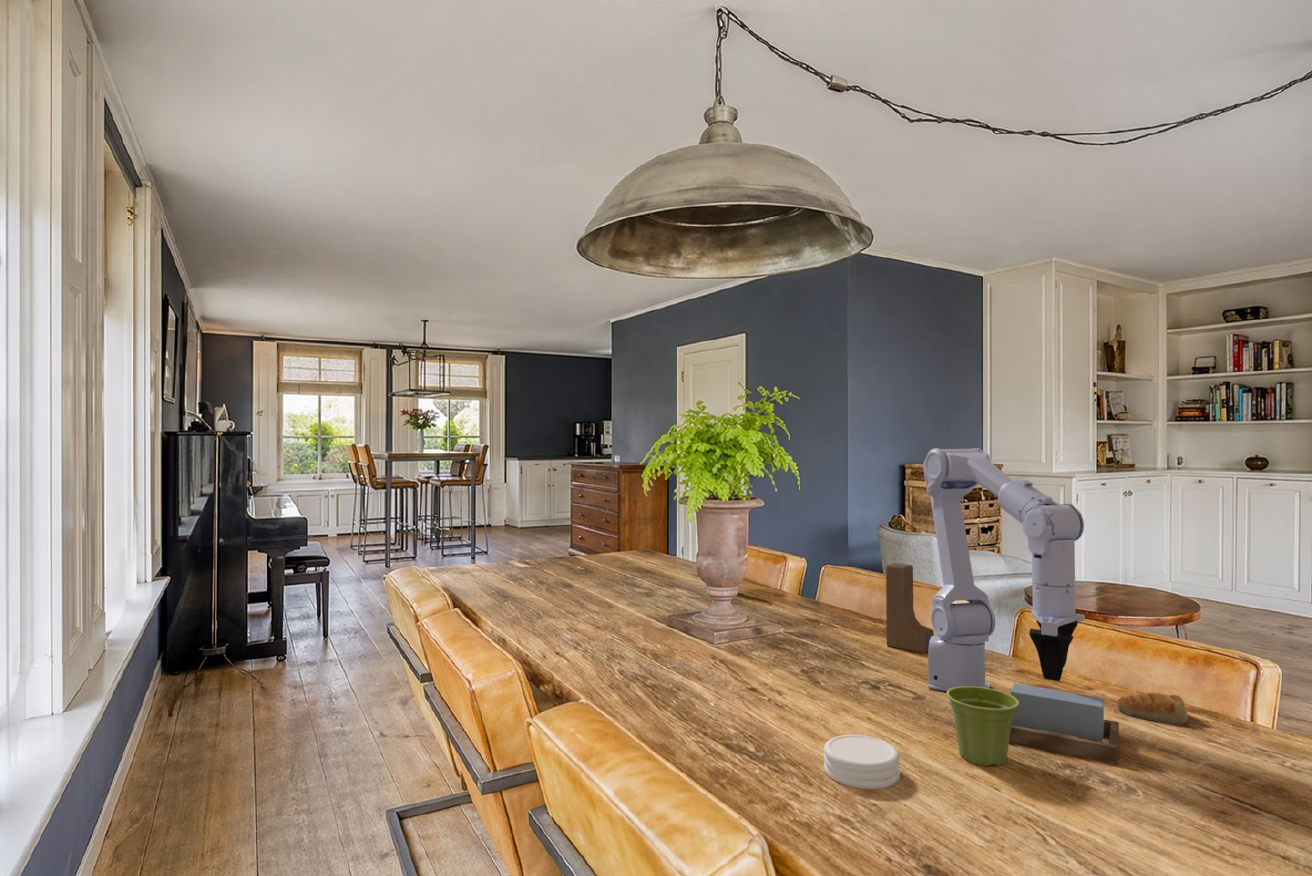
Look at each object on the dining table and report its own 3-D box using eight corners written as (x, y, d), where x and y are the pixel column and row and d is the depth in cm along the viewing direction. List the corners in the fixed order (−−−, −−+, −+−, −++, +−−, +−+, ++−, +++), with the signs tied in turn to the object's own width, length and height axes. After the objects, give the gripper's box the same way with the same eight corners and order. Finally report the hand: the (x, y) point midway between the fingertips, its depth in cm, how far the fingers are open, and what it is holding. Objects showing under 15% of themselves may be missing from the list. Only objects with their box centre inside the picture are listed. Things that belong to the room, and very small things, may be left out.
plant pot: (958, 738, 107) (957, 681, 107) (1026, 755, 101) (1025, 694, 101) (938, 759, 100) (937, 698, 100) (1010, 779, 94) (1009, 714, 94)
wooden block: (934, 650, 153) (933, 567, 154) (925, 654, 150) (924, 570, 150) (895, 642, 160) (894, 562, 160) (885, 646, 157) (885, 565, 157)
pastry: (1123, 720, 115) (1123, 696, 115) (1111, 705, 121) (1111, 683, 121) (1192, 727, 112) (1191, 702, 112) (1176, 712, 118) (1175, 689, 118)
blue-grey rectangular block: (1011, 724, 109) (1010, 691, 109) (1015, 714, 113) (1014, 683, 113) (1102, 742, 102) (1102, 707, 102) (1104, 731, 106) (1103, 698, 106)
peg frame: (992, 737, 107) (991, 723, 107) (1003, 714, 116) (1003, 701, 116) (1117, 763, 98) (1117, 748, 98) (1119, 736, 107) (1118, 722, 107)
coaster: (809, 774, 97) (809, 748, 97) (847, 751, 104) (847, 727, 104) (877, 799, 89) (876, 772, 89) (913, 773, 96) (912, 748, 96)
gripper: (1080, 595, 99) (1082, 691, 99) (1086, 578, 111) (1087, 664, 111) (1024, 589, 103) (1026, 682, 103) (1036, 574, 115) (1037, 657, 115)
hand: (1054, 672), depth 108 cm, fingers open, 7 cm apart
